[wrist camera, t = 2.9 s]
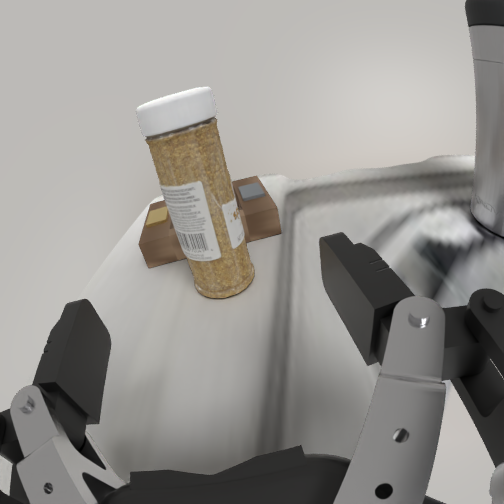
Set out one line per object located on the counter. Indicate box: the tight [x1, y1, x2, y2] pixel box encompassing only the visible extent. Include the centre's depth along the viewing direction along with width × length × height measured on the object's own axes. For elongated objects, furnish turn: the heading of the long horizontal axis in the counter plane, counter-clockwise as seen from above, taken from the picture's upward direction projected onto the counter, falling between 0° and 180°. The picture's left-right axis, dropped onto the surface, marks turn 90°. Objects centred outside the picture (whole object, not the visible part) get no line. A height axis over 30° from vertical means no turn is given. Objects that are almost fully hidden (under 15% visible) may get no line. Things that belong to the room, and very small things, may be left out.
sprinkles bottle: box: [136, 87, 254, 298], centre depth 19 cm, size 5×5×14 cm
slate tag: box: [238, 182, 265, 201], centre depth 29 cm, size 2×3×1 cm, turn 10°
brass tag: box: [146, 206, 169, 228], centre depth 29 cm, size 2×3×1 cm, turn 10°
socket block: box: [139, 176, 281, 268], centre depth 30 cm, size 12×9×2 cm
